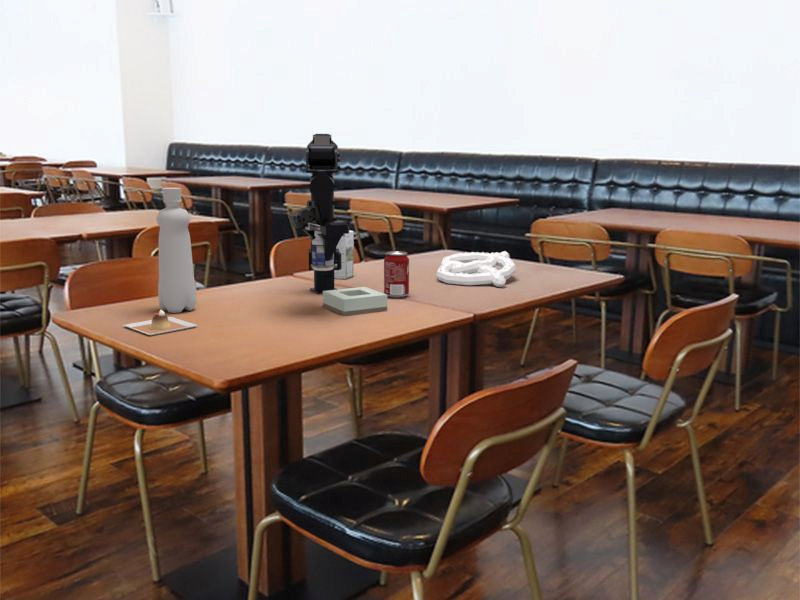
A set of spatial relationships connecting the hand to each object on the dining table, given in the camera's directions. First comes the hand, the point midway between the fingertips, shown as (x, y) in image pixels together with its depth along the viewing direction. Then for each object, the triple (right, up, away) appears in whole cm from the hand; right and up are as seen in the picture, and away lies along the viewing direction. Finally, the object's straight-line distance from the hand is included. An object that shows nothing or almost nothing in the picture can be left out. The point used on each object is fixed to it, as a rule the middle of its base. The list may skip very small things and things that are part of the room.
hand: (323, 259), depth 193 cm
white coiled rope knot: (+43, -4, +45) cm, 62 cm away
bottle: (-36, -13, -1) cm, 38 cm away
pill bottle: (0, -3, +1) cm, 3 cm away
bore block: (+8, -12, +2) cm, 15 cm away
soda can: (+18, -9, +18) cm, 27 cm away
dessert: (-35, -17, -18) cm, 43 cm away
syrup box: (+1, -3, +45) cm, 45 cm away
